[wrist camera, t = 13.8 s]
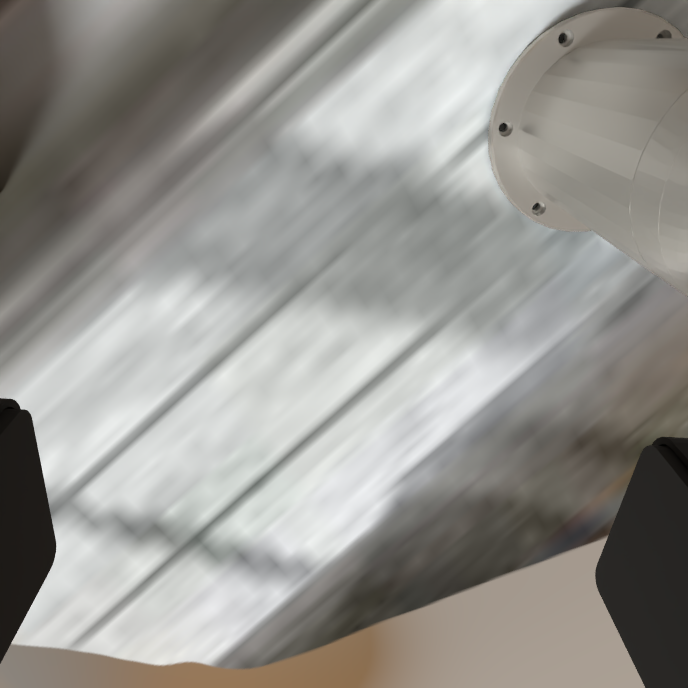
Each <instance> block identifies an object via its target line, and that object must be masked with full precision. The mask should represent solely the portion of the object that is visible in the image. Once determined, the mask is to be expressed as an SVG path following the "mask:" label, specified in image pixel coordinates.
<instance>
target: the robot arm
mask: <svg viewBox="0 0 688 688" xmlns="http://www.w3.org/2000/svg"><path fill="white" fill-rule="evenodd" d="M561 33H562V34H563V35H564V38H565V39H564V41H563V42H562V43H559V42H558V37H559V35H560V34H561ZM657 35H659V38H658V39H656V37H657ZM501 123H505V125H506V127H505V129H504V130H503V131H499V126H500V124H501ZM488 149H489V157H490V161H491V166H492V171H493V173H494V175H495V178H496V180H497V182H498V184H499V187H500V189H501V190H502V191H503V193H504V194H505V195H506V197H507V198H508V200H509V201H510V202H511V203H512V204H513V205H514V206H515V207H516V208H517V209H518V210H519V211H520V212H522V213H523V214H524V215H526V216H527V217H528V218H530V219H531V220H533V221H534V222H537V223H539V224H542V225H544V226H546V227H549V228H552V229H557V230H562V231H567V232H586V231H594V232H595V233H596V234H598V235H599V236H601V237H602V238H603V239H605V240H606V241H608V242H609V243H610V244H612V245H613V246H615V247H616V248H617V249H619V250H620V251H622V252H623V253H624V254H626V255H627V256H629V257H630V258H631V259H633V260H634V261H636V262H637V263H638V264H640V265H641V266H643V267H644V268H645V269H647V270H648V271H650V272H651V273H653V274H654V275H656V276H657V277H659V278H660V279H662V280H663V281H665V282H666V283H668V284H669V285H671V286H672V287H673V288H675V289H676V290H678V291H679V292H681V293H682V294H684V295H685V296H687V297H688V38H685V37H684V36H683V35H682V34H681V33H680V31H679V30H678V29H677V28H676V27H674V26H673V25H672V24H670V23H669V22H667V21H666V20H664V19H663V18H662V17H660V16H657V15H655V14H652V13H649V12H647V11H644V10H641V9H633V8H625V7H613V8H602V9H597V10H592V11H587V12H583V13H580V14H577V15H575V16H573V17H570V18H568V19H566V20H563V21H561V22H559V23H558V24H556V25H555V26H553V27H552V28H550V29H549V30H547V31H546V32H544V33H543V34H541V35H540V36H539V37H538V38H537V39H536V40H535V41H534V42H533V43H532V44H530V45H529V46H528V47H527V48H526V49H525V50H524V51H523V52H522V54H521V55H520V56H519V58H518V59H517V60H516V62H515V63H514V64H513V66H512V67H511V68H510V69H509V71H508V73H507V75H506V77H505V79H504V81H503V83H502V84H501V86H500V88H499V90H498V93H497V96H496V99H495V102H494V105H493V108H492V111H491V117H490V123H489V130H488ZM537 202H538V207H537V208H536V209H532V208H533V205H534V204H535V203H537ZM55 553H56V539H55V534H54V529H53V524H52V519H51V514H50V509H49V504H48V498H47V493H46V488H45V483H44V478H43V473H42V468H41V462H40V457H39V452H38V447H37V442H36V437H35V432H34V427H33V421H32V417H31V414H30V413H29V412H28V411H27V410H21V409H20V406H19V404H18V403H17V402H16V401H15V400H13V399H1V398H0V663H1V661H2V659H3V657H4V655H5V654H6V652H7V650H8V648H9V646H10V644H11V643H12V641H13V639H14V637H15V635H16V633H17V631H18V629H19V627H20V626H21V624H22V622H23V620H24V618H25V616H26V614H27V612H28V611H29V609H30V607H31V605H32V603H33V601H34V599H35V597H36V595H37V594H38V592H39V590H40V588H41V586H42V584H43V582H44V580H45V579H46V577H47V575H48V573H49V571H50V569H51V567H52V565H53V562H54V558H55ZM595 576H596V584H597V588H598V591H599V593H600V595H601V597H602V599H603V601H604V603H605V605H606V607H607V610H608V612H609V614H610V615H611V618H612V620H613V622H614V624H615V626H616V628H617V630H618V632H619V634H620V636H621V638H622V640H623V642H624V645H625V647H626V648H627V651H628V653H629V655H630V657H631V659H632V661H633V663H634V665H635V667H636V669H637V671H638V673H639V675H640V677H641V679H642V681H643V684H644V686H645V688H688V438H674V437H660V438H658V439H656V440H655V441H654V442H653V444H652V445H650V446H646V447H645V448H644V449H643V451H642V453H641V455H640V457H639V460H638V462H637V465H636V467H635V470H634V473H633V475H632V478H631V480H630V483H629V485H628V488H627V490H626V493H625V495H624V498H623V500H622V503H621V505H620V508H619V511H618V513H617V516H616V518H615V521H614V523H613V526H612V528H611V531H610V533H609V536H608V538H607V541H606V544H605V546H604V549H603V552H602V554H601V556H600V559H599V561H598V564H597V567H596V575H595Z"/></svg>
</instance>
